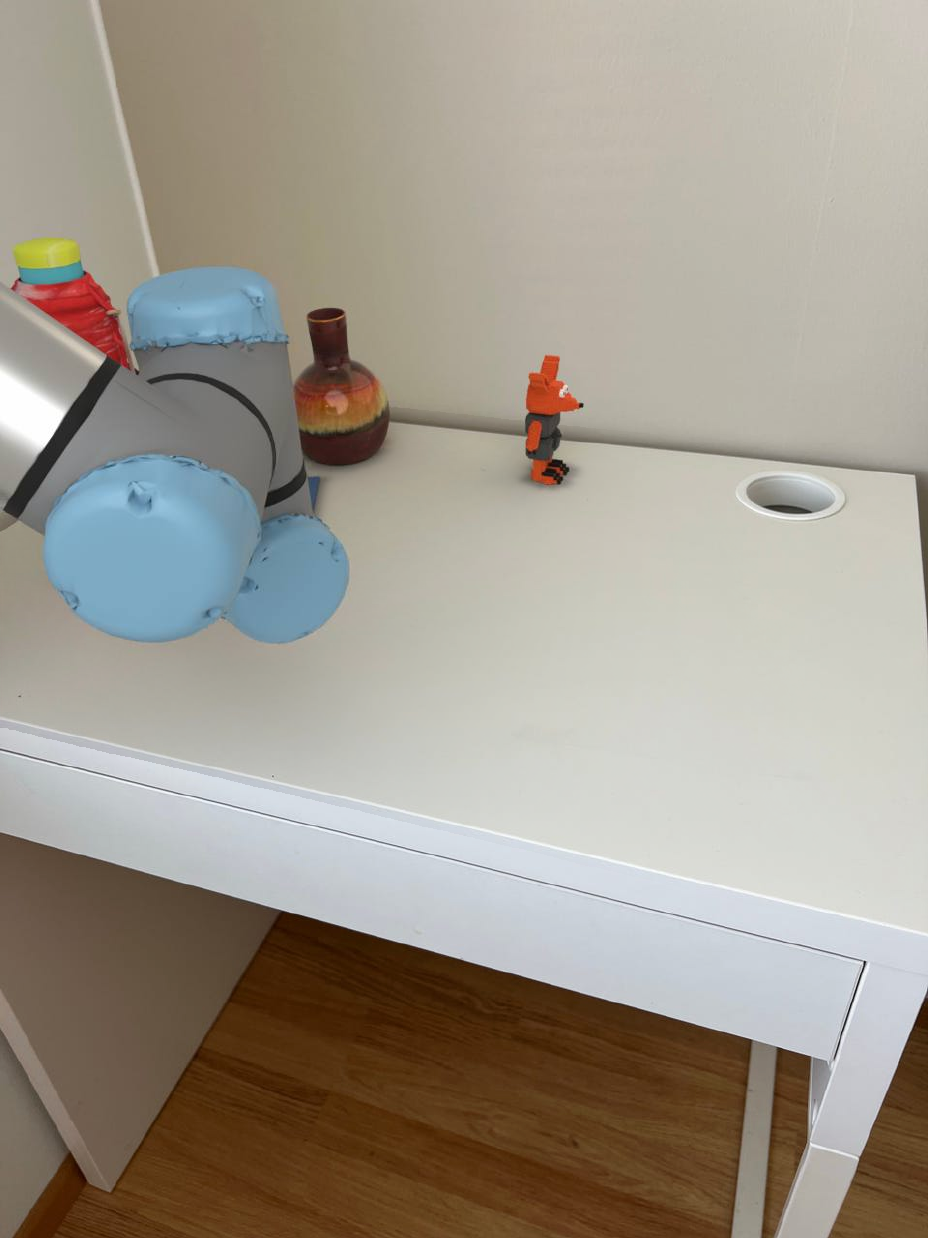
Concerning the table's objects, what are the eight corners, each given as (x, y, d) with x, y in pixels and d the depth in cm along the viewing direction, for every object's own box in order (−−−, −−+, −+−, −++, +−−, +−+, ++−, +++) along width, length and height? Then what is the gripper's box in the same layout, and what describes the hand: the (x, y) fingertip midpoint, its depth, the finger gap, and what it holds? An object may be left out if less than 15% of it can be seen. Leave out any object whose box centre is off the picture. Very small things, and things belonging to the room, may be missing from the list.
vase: (406, 459, 110) (393, 320, 101) (308, 481, 107) (285, 339, 98) (376, 422, 118) (361, 290, 109) (284, 441, 115) (261, 307, 106)
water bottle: (218, 534, 87) (167, 229, 73) (179, 580, 80) (115, 254, 67) (90, 524, 89) (17, 226, 75) (41, 568, 82) (-48, 250, 69)
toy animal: (570, 497, 101) (571, 383, 94) (519, 490, 103) (516, 378, 96) (592, 462, 107) (595, 353, 100) (543, 456, 109) (542, 349, 102)
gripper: (43, 597, 62) (-47, 470, 78) (330, 494, 72) (200, 398, 87) (6, 489, 58) (-81, 377, 73) (317, 394, 67) (182, 313, 83)
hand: (71, 389), depth 80 cm, fingers closed on water bottle, 8 cm apart
